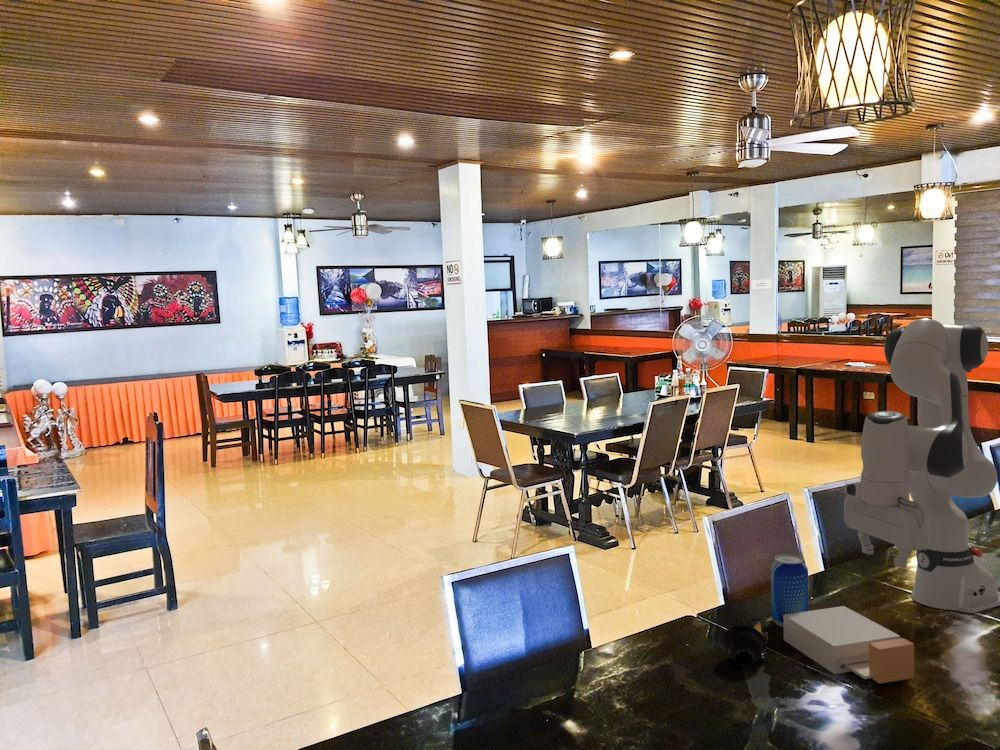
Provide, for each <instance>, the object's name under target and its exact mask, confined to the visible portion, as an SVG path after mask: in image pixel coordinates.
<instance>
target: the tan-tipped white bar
mask: <svg viewBox="0 0 1000 750" xmlns="http://www.w3.org/2000/svg"><path fill="white" fill-rule="evenodd" d="M843 666H845V667H847V668H848V669H850V670H851V672H853V673H854V674H856V675H857V676H859V677H860V678H862V679H864V680H869V679H872V680H873V681H875V682H877V683H878V684H880V685H881V684H885V683H892V682H897V681H903V680H909V679H913V678H915V643H914V642H911V641H909V639H906V638H904V637H900V639H893V640H887V641H881V642H875V643H869V660H868V661H862V662H856V663H850V664H844V665H843Z"/></svg>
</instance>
